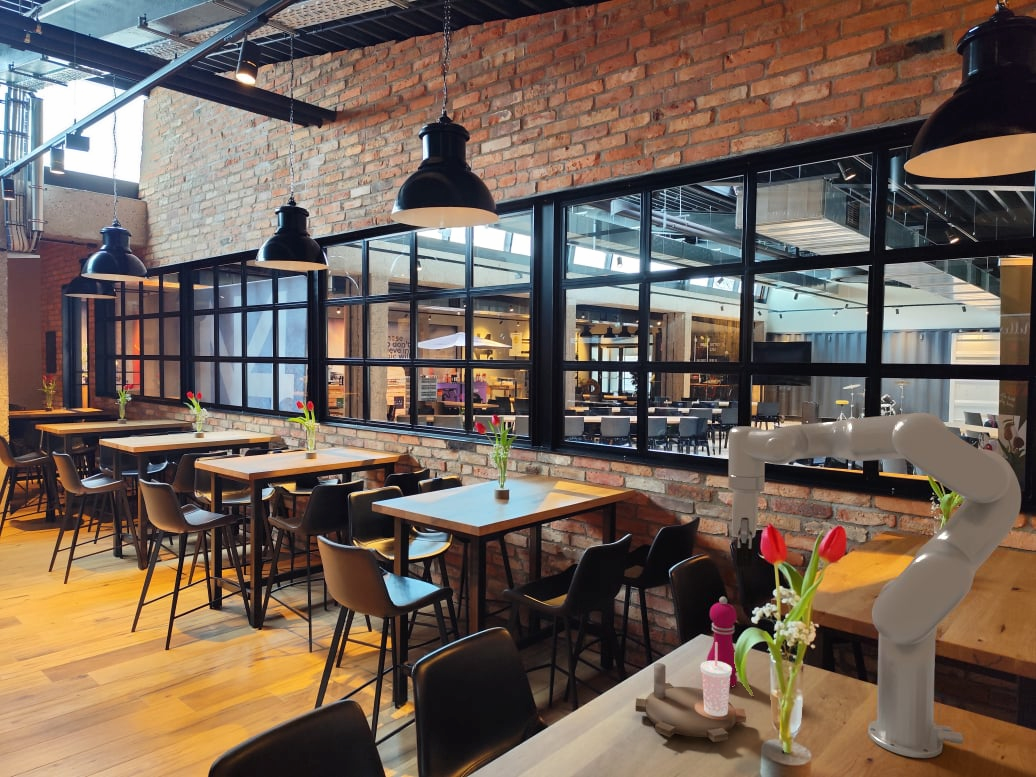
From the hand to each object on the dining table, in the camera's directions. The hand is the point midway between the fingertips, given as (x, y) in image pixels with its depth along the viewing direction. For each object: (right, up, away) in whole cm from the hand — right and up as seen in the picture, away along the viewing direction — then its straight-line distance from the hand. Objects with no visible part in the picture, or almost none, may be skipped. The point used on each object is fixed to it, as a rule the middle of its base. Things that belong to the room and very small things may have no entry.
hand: (745, 560), depth 150 cm
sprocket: (-15, -29, -10) cm, 34 cm away
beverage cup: (-10, -28, -12) cm, 32 cm away
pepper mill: (-3, -30, +7) cm, 31 cm away
